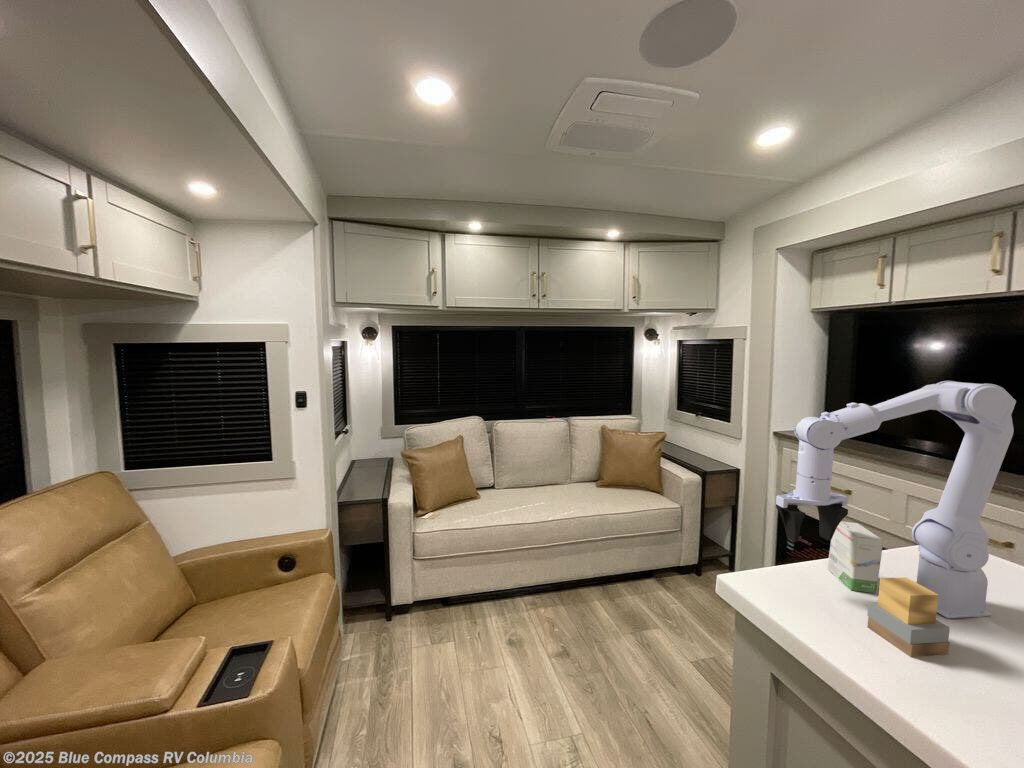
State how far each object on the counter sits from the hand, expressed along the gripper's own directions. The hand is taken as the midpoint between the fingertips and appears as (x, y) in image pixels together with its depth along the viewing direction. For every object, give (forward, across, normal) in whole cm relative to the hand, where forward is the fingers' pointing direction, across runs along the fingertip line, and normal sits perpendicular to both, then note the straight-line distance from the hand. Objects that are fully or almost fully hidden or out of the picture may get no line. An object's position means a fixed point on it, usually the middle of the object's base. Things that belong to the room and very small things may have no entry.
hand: (808, 538), depth 82 cm
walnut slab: (+11, -4, +16) cm, 20 cm away
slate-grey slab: (+8, -4, +16) cm, 18 cm away
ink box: (+11, -12, -1) cm, 16 cm away
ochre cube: (+6, -4, +16) cm, 17 cm away
